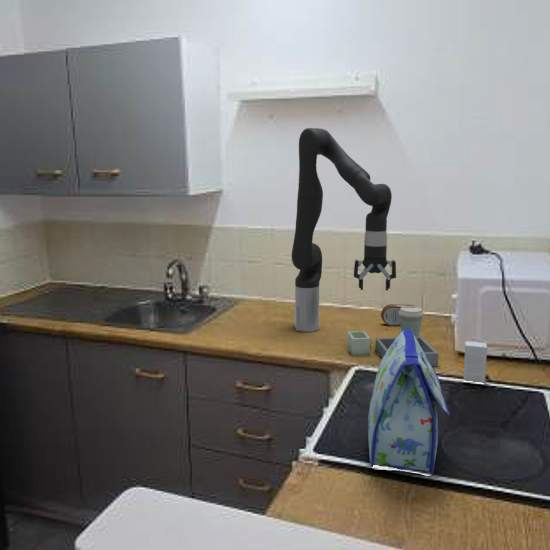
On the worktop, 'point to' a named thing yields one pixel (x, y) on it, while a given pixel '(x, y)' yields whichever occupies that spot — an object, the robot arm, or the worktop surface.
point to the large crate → (428, 350)
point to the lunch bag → (405, 408)
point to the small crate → (358, 343)
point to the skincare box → (475, 361)
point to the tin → (392, 314)
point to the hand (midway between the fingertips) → (374, 289)
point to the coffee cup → (411, 319)
